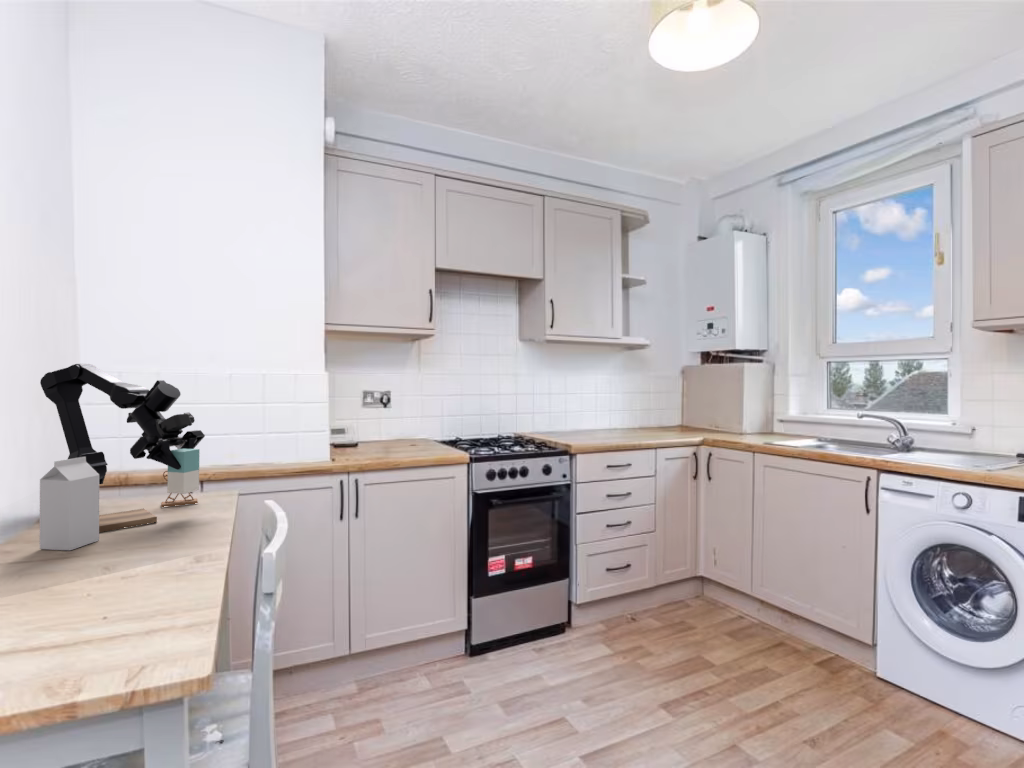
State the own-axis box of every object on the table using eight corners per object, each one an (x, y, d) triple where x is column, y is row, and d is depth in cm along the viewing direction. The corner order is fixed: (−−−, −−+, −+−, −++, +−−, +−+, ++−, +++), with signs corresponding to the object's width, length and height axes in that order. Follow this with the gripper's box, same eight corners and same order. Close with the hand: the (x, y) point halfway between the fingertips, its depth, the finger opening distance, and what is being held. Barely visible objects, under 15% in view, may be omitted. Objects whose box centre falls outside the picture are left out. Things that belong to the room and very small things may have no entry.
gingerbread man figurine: (197, 501, 154) (197, 461, 154) (197, 504, 151) (198, 463, 151) (161, 505, 149) (161, 463, 149) (161, 508, 146) (161, 465, 146)
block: (167, 492, 135) (167, 450, 135) (183, 488, 140) (183, 448, 139) (183, 493, 134) (184, 451, 134) (198, 489, 139) (199, 449, 138)
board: (86, 523, 130) (86, 517, 130) (143, 514, 139) (143, 508, 139) (97, 532, 122) (97, 526, 122) (156, 522, 131) (156, 516, 131)
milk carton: (99, 541, 116) (99, 457, 116) (69, 551, 109) (69, 462, 109) (70, 539, 117) (71, 456, 117) (39, 549, 110) (39, 461, 110)
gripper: (139, 404, 128) (177, 451, 126) (199, 401, 146) (232, 442, 144) (113, 435, 130) (149, 481, 128) (175, 428, 148) (208, 468, 146)
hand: (188, 466), depth 136 cm, fingers closed on block, 5 cm apart
